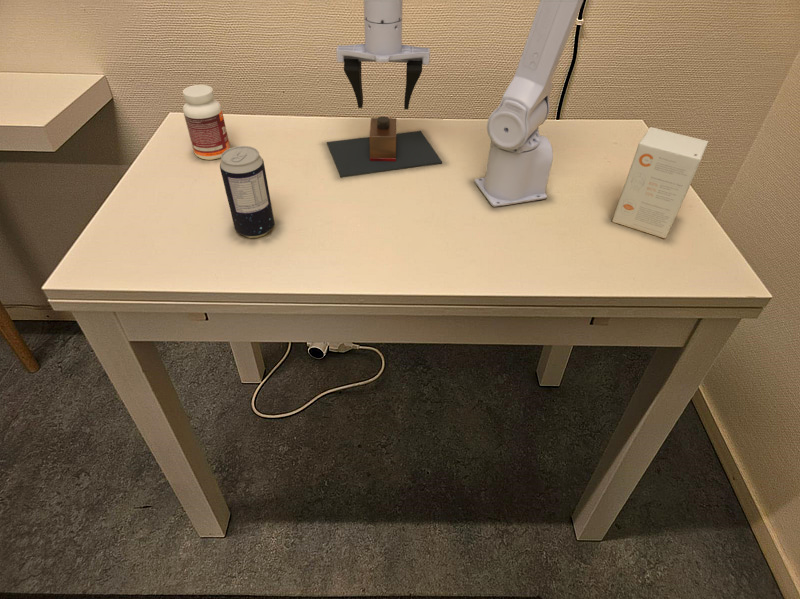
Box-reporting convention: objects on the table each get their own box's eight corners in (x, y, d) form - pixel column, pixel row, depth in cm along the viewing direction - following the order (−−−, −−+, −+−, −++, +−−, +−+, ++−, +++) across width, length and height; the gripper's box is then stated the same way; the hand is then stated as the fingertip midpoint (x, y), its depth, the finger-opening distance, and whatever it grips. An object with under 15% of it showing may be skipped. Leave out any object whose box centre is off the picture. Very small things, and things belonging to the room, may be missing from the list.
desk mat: (420, 132, 101) (420, 130, 101) (442, 163, 93) (442, 161, 92) (326, 144, 97) (326, 141, 97) (340, 177, 89) (340, 175, 88)
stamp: (396, 142, 97) (396, 110, 93) (395, 161, 92) (396, 128, 88) (371, 141, 97) (370, 110, 93) (369, 161, 92) (369, 128, 88)
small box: (674, 219, 82) (710, 140, 73) (665, 240, 78) (702, 159, 69) (621, 202, 85) (650, 125, 76) (610, 222, 81) (638, 142, 72)
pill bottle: (236, 155, 93) (222, 93, 86) (201, 164, 91) (184, 101, 83) (223, 140, 97) (209, 79, 89) (190, 149, 94) (172, 87, 87)
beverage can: (282, 222, 79) (270, 148, 71) (263, 244, 75) (247, 169, 67) (248, 215, 80) (232, 141, 72) (228, 236, 76) (208, 161, 68)
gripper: (331, 25, 77) (337, 115, 86) (432, 28, 77) (427, 117, 86) (337, 10, 82) (342, 97, 91) (431, 13, 82) (426, 99, 91)
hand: (383, 106), depth 89 cm, fingers open, 7 cm apart
